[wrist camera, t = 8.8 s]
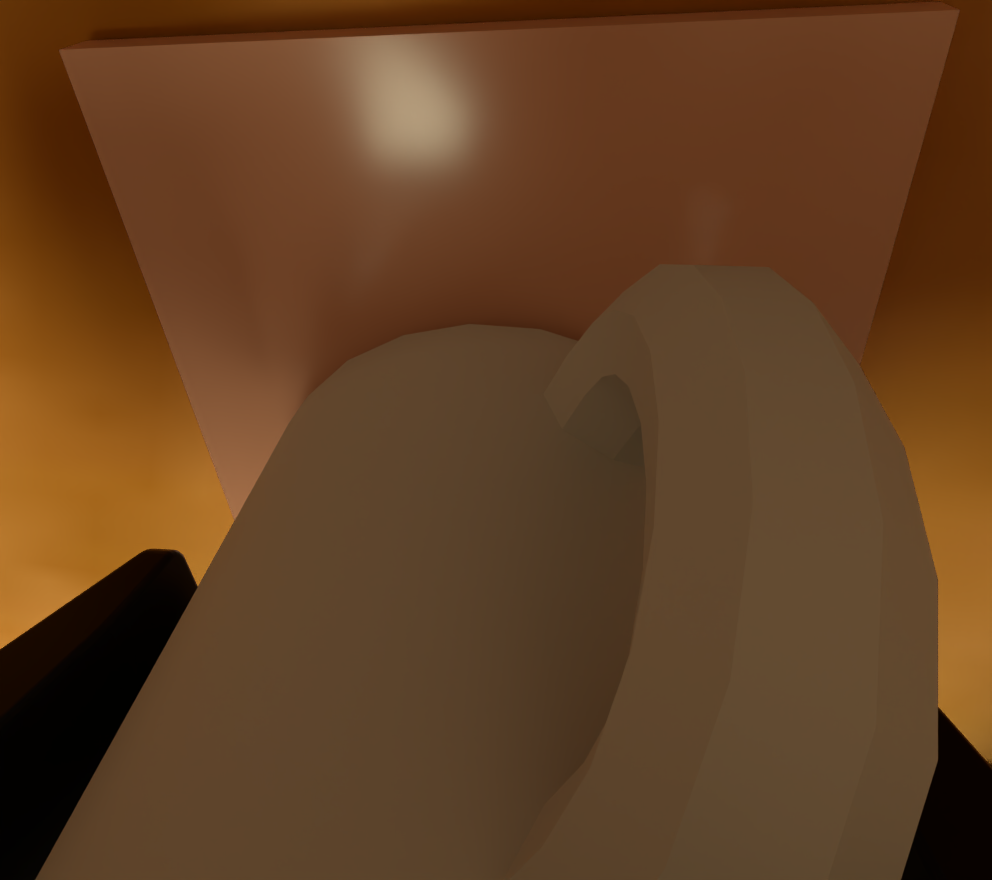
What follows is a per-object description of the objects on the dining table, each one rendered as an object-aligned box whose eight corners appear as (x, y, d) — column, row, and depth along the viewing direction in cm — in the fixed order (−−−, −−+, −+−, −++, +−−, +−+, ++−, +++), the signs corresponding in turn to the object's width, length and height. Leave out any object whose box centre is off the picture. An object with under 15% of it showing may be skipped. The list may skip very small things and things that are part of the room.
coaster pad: (769, 643, 15) (774, 669, 14) (287, 612, 16) (277, 634, 15) (939, 1, 8) (960, 9, 7) (86, 40, 9) (58, 49, 9)
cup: (242, 561, 14) (-130, 1294, 7) (435, -14, 8) (-1065, 1030, 1) (589, 687, 15) (588, 1418, 8) (981, 272, 9) (2378, 1690, 2)
